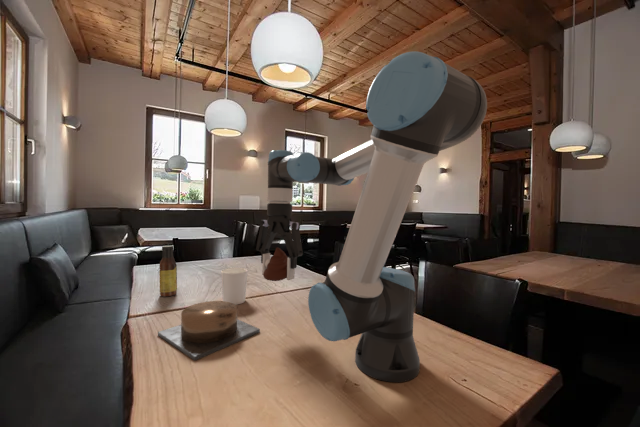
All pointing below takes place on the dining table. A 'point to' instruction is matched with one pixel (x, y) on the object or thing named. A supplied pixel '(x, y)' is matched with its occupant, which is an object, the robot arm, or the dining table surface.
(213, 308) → the post stand
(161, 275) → the sauce bottle
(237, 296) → the candle holder
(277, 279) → the poop emoji
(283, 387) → the dining table surface
